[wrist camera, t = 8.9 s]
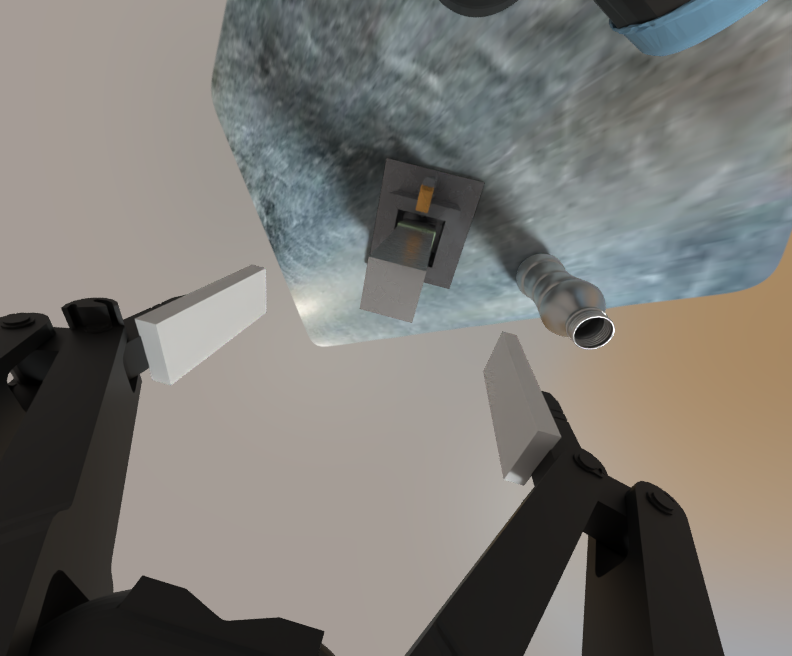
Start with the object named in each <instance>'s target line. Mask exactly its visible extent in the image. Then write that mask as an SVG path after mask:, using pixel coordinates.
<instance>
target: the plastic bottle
mask: <svg viewBox="0 0 792 656" xmlns="http://www.w3.org/2000/svg"><path fill="white" fill-rule="evenodd" d="M516 279H517V285H518V288H519V289H520V291H521V292H522V293H523V294H524V295H526V296H527V297H529V298H530V299H532V300H533V301H534V303H535V304H536V306H537V308H538V311H539V314H540V317H541V320H542V322H543V324H544V325H545V327H546V328H547V329H548V330H549V331H551V332H553V333H555V334H557V335H559V336H563V337H569V338H570V339H571V340H572V341H573V342H574V343H575V344H576V345H577V346H578V347H580V348H582V349H587V350H588V349H589V350H591V349H596V348H599V347H601V346H604V345H605V344H606V343H608V342H609V341H610V339H611V338H612V337H613V335H614V331H615V327H614V324H613V322H612V321H611V320H610V319H609V318H608V316H607V315H606V313H605V310H606V303H605V299H604V296H603V294H602V292H601V291H600V290H599V289H598V287H596V286H595V285H593V284H591V283H589V282H587V281H584V280H582V279H579V278H576V277H574V276H572V275H571V274H569V273H568V272H567V271H566V270H565V268H564V266H563V264H562V263H561V261H560V260H559V259H558V258H556V257H555V256H552V255H549V254H535V255H532V256H530V257H528V258H527V259H525V260H524V261H523V262H522V264H521V265H520V266H519V268H518V271H517V276H516Z"/></svg>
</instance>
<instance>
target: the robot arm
mask: <svg viewBox="0 0 792 656" xmlns="http://www.w3.org/2000/svg"><path fill="white" fill-rule="evenodd" d="M440 1H441V2H442V3H443V4H444V5H445V6H446V7H447V8H449V9H450V10H452V11H454V12H456V13H458V14H460V15H464V16H468V17H484V16H489V15H493V14H496V13H498V12H500V11H502V10H504V9H506V8H508V7H509V6H511V5H512V4H514V3H515V2H517V1H518V0H440ZM766 1H768V0H594V2H595V3H596V4H597V5H598V6H599V7H600V8H601V10H602V11H603V12H604V13H605V14H606V15H607V16H608V17H609V25H610V27H611V28H612V30H613V31H615V32H618V33H619V34H624V35H625V36H626V37H627V38H628V39H629V40H630V41H631V42H632V43H633V44H634V45H635V46H636V47H637V48H638V49H639V50H640V51H641V52H642V53H644V54H647V55H653V56H666V55H670V54H674V53H677V52H680V51H682V50H685V49H687V48H689V47H692V46H694V45H696V44H698V43H700V42H702V41H704V40H706V39H708V38H709V37H711V36H713V35H715V34H716V33H718V32H720V31H722V30H723V29H725V28H726V27H728V26H730V25H731V24H733V23H735V22H736V21H738V20H739V19H741V18H742V17H744V16H745V15H747V14H748V13H750V12H752V11H753V10H754V9H756V8H757V7H759V6H760V5H762V4H763V3H765V2H766ZM62 311H63V314H64V316H65V318H66V321H67V323H68V325H69V327H70V328H59V327H58V328H57V327H53V326H52V324H51V322H50V319H49V317H48V316H46V315H44V314H40V313H17V314H9V315H7V316H4V317H0V656H335V655H334V654H333V653H332V652H331V651H330V650H329V649H328V648H327V647H326V646H324V645H323V644H322V639H323V635H324V631H322V630H318V629H315V628H312V627H309V626H306V625H302V624H299V623H296V622H293V621H289V620H286V619H283V618H279V617H278V618H263V619H248V620H234V621H226V620H222V619H221V618H219V617H218V616H217V615H216V614H214V613H213V612H212V611H211V610H210V609H209V608H207V606H205V605H204V604H203V603H202V602H201V601H200V600H198V599H197V598H196V597H195V596H194V595H193V594H192V593H190V592H189V591H188V590H187V589H185V588H182V587H178V586H175V585H172V584H169V583H165V582H162V581H159V580H155V579H152V578H149V577H146V576H142V577H141V578H140V579H139V581H138V582H137V583H136V585H135V586H134V587H133V588H132V589H130V590H125V591H120V592H115V593H113V581H112V573H111V563H112V555H113V549H114V543H115V538H116V532H117V525H118V519H119V514H120V508H121V502H122V495H123V490H124V484H125V478H126V472H127V466H128V460H129V454H130V449H131V443H132V437H133V431H134V425H135V419H136V413H137V407H138V401H139V395H140V389H141V383H142V380H141V377H140V373H142V372H143V371H145V370H147V369H148V368H149V370H150V374H151V377H152V380H154V381H157V382H161V383H165V384H168V385H172V384H173V383H175V382H176V381H177V380H179V379H180V378H181V377H183V376H184V375H185V374H186V373H188V372H189V371H190V370H191V369H193V368H194V367H196V366H197V365H198V364H200V363H201V362H202V361H204V360H205V359H206V358H207V357H209V356H210V355H211V354H212V353H214V352H215V351H217V350H218V349H219V348H221V347H222V346H223V345H224V344H226V343H227V342H228V341H230V340H231V339H232V338H234V337H235V336H236V335H238V334H239V333H240V332H241V331H243V330H244V329H245V328H247V327H248V326H249V325H251V324H252V323H253V322H255V321H256V320H257V319H258V318H260V317H261V316H262V315H264V314H265V313H266V268H263V267H259V266H256V265H250V266H249V267H246V268H244V269H242V270H239V271H237V272H235V273H233V274H231V275H229V276H227V277H224V278H222V279H220V280H218V281H216V282H213V283H211V284H209V285H207V286H205V287H203V288H200V289H198V290H196V291H194V292H192V293H189V294H187V295H183V296H178V297H174V298H171V299H169V300H167V301H164V302H162V303H161V304H158V305H155V306H154V307H152V308H149V309H146V310H144V311H142V312H140V313H137V314H135V315H133V316H131V317H128V318H126V319H124V320H123V319H122V316H121V313H120V309H119V306H118V303H117V302H116V301H114V300H112V299H107V298H86V299H81V300H77V301H73V302H70V303H68V304H66V305H64V306H63V307H62ZM10 372H11V374H12V375H13V377H14V379H13V380H12V381H11V382H9V383H7V377H8V374H9V373H10ZM483 373H484V377H485V383H486V389H487V394H488V399H489V405H490V410H491V415H492V420H493V426H494V431H495V436H496V441H497V446H498V452H499V457H500V462H501V467H502V473H503V478H504V480H507V481H510V482H513V483H517V484H521V485H525V484H526V482H527V481H528V480H529V478H530V477H531V476H532V479H533V482H534V486H535V487H534V488H533V489H532V491H531V492H530V493H529V494H528V496H527V497H526V498H525V499H524V500H523V502H522V503H521V505H520V506H519V507H518V509H517V510H516V511H515V513H514V514H513V515H512V517H511V518H510V519H509V521H508V522H507V523H506V524H505V526H504V527H503V528H502V530H501V531H500V532H499V533H498V535H497V536H496V537H495V539H494V540H493V541H492V543H491V544H490V545H489V546H488V548H487V549H486V550H485V552H484V553H483V554H482V556H481V557H480V558H479V560H478V561H477V562H476V563H475V565H474V566H473V567H472V569H471V570H470V571H469V573H468V574H467V575H466V576H465V578H464V579H463V580H462V582H461V583H460V584H459V586H458V587H457V588H456V589H455V591H454V592H453V593H452V595H451V596H450V597H449V599H448V600H447V601H446V603H445V604H444V605H443V606H442V608H441V609H440V610H439V612H438V613H437V614H436V616H435V617H434V618H433V619H432V621H431V622H430V623H429V625H428V626H427V627H426V629H425V630H424V631H423V632H422V634H421V635H420V636H419V638H418V639H417V640H416V642H415V643H414V644H413V645H412V647H411V648H410V650H409V651H408V652H407V653H406V655H405V656H523V655H524V653H525V651H526V649H527V647H528V645H529V643H530V641H531V638H532V637H533V634H534V632H535V630H536V628H537V626H538V624H539V622H540V620H541V618H542V616H543V614H544V611H545V609H546V607H547V605H548V603H549V601H550V599H551V597H552V595H553V593H554V591H555V589H556V586H557V584H558V582H559V580H560V578H561V576H562V574H563V572H564V570H565V568H566V565H567V563H568V561H569V559H570V557H571V555H572V553H573V551H574V549H575V547H576V545H577V542H578V540H579V538H580V536H581V534H582V532H584V533H586V534H588V551H587V570H586V589H585V606H584V624H583V643H582V656H724V652H723V648H722V645H721V641H720V637H719V634H718V630H717V626H716V622H715V619H714V615H713V611H712V608H711V604H710V601H709V597H708V593H707V590H706V586H705V582H704V578H703V574H702V571H701V567H700V564H699V560H698V556H697V552H696V548H695V545H694V541H693V537H692V534H691V530H690V526H689V523H688V519H687V517H686V514H685V512H684V511H683V509H682V508H681V507H680V505H679V504H678V503H677V502H676V501H675V500H674V499H673V498H672V497H671V496H670V495H669V494H668V493H666V492H665V491H663V490H662V489H661V488H659V487H658V486H655V485H653V484H651V483H649V482H644V481H640V482H637V483H636V484H635V485H634V486H632V487H628V486H627V485H625V484H623V483H621V482H619V481H617V480H615V479H613V478H611V477H610V476H608V474H607V472H606V470H605V468H604V466H603V465H602V464H601V462H600V461H599V460H598V459H597V458H596V457H594V456H593V455H592V454H591V453H589V452H587V451H586V450H584V449H582V448H581V447H580V445H579V443H578V441H577V439H576V437H575V435H574V433H573V431H572V429H571V427H570V425H569V423H568V422H567V419H566V417H565V415H564V414H563V411H562V409H561V407H560V405H559V403H558V401H556V399H555V398H554V397H553V396H552V395H551V394H550V393H547V392H544V391H541V390H540V387H539V385H538V383H537V380H536V378H535V376H534V374H533V372H532V369H531V367H530V365H529V363H528V360H527V358H526V356H525V354H524V351H523V349H522V347H521V344H520V342H519V340H518V338H517V336H516V335H514V334H510V333H506V332H502V333H501V335H500V338H499V339H498V342H497V344H496V346H495V348H494V350H493V352H492V354H491V356H490V358H489V360H488V363H487V365H486V367H485V369H484V371H483ZM320 646H321V647H320Z"/></svg>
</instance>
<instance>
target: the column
mask: <svg viewBox="0 0 792 656" xmlns="http://www.w3.org/2000/svg"><path fill="white" fill-rule="evenodd" d="M435 227H436V226H435V225H431V224H428V223H424V222H420V221H416V220H412V219H408V218H405V219H404V220H403V221H400V222H399V223H398V226H397V227H396V228H395V230H394V231H393V232H392V233H391V234H390V235H389V236H388V237H387V238H386V239H385V240H384V241H383V242H382V243H381V244H380V245H379V246H378V247H377V248H376V249H375V250H374V251H373V253H372V254H371V255H370V256H369V258H368V264H367V269H366V275H365V281H364V287H363V293H362V299H361V305H360V309H362V310H366V311H370V312H373V313H377V314H381V315H385V316H388V317H392V318H396V319H399V320H403V321H407V322H411V323H412V321H413V318H414V314H415V311H416V307H417V303H418V300H419V296H420V293H421V289H422V286H423V282H424V279H425V275H426V271H427V266H428V261H429V257H430V252H431V248H432V244H433V241H434V237H435V234H436V230H435Z"/></svg>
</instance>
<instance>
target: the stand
mask: <svg viewBox="0 0 792 656" xmlns="http://www.w3.org/2000/svg"><path fill="white" fill-rule="evenodd" d="M484 184H485V183H484V182H480V181H476V180H472V179H468V178H464V177H460V176H456V175H452V174H448V173H444V172H440V171H436V170H432V169H428V168H424V167H420V166H416V165H412V164H408V163H404V162H400V161H396V160H392V159H388V158H386V164H385V170H384V176H383V182H382V187H381V193H380V199H379V205H378V211H377V217H376V222H375V228H374V234H373V240H372V246H371V252H370V255H371V254H372V253H373V251H374V250H375V249H376V248H377V247H378V246H379V245H380V244H381V243H382V242H383V241H384V240H385V239H386V238H387V237H388V236H389V235H390V234H391V233H392V232H393V231H394V230H395V228H396V227H397V226H398V223H399V222H400V221H403V220H404V219H405V218H408V219H412V220H416V221H420V222H424V223H428V224H431V225H435V226H436V227H435V230H436V234H435V237H434V241H433V244H432V248H431V252H430V257H429V261H428V266H427V271H426V275H425V279H424V282H425V283H428V284H432V285H436V286H440V287H444V288H447V289H449V288H450V285H451V282H452V279H453V276H454V273H455V270H456V267H457V264H458V261H459V258H460V255H461V252H462V249H463V246H464V243H465V240H466V237H467V234H468V231H469V228H470V225H471V222H472V219H473V216H474V213H475V210H476V207H477V204H478V202H479V199H480V196H481V193H482V190H483V187H484Z"/></svg>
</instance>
